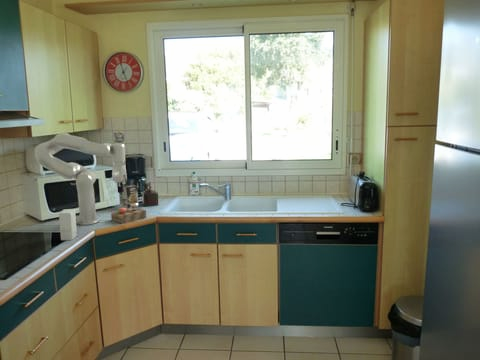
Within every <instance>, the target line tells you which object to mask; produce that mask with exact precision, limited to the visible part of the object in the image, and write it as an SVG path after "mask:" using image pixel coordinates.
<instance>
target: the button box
mask: <svg viewBox="0 0 480 360" xmlns="http://www.w3.org/2000/svg"><path fill="white" fill-rule="evenodd" d="M136 209H137V211H133V208H131V209H126V212H124V213H123V214H121V213H120V212H118V211H113V212H110V214H111V221H113V222H115V223H118V224H121V225H122V224H126V223H130V222H135V221H139V220H143V219H147V210H145V209H142V208H139V207H138V208H136Z"/></svg>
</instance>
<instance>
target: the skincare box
mask: <svg viewBox="0 0 480 360" xmlns="http://www.w3.org/2000/svg"><path fill="white" fill-rule="evenodd" d="M76 218H77V215H76V208H67V209H62V210H61V211H60V212H59V213H58V220H59V231H60V241H73V240H74V239H76V237H77V236H78V233H77V232H78V231H77V230H78V229H77V222H76ZM72 239H73V240H72Z"/></svg>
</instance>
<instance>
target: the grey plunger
mask: <svg viewBox="0 0 480 360" xmlns="http://www.w3.org/2000/svg"><path fill="white" fill-rule="evenodd" d="M131 207H133V211H137V209H136V207H138V208H139V202H138V203H131Z"/></svg>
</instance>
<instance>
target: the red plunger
mask: <svg viewBox="0 0 480 360" xmlns="http://www.w3.org/2000/svg"><path fill="white" fill-rule="evenodd" d="M117 210H118V212H120V213H121V214H123V213H124V212H126V208H123V207H119V208H118V209H117Z"/></svg>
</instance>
